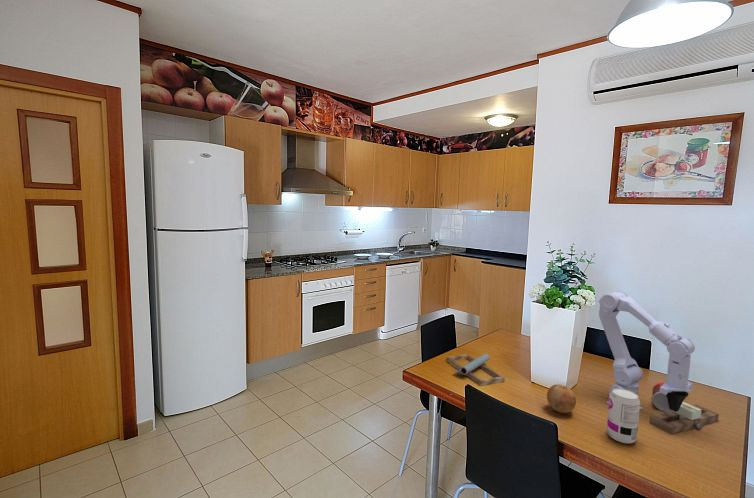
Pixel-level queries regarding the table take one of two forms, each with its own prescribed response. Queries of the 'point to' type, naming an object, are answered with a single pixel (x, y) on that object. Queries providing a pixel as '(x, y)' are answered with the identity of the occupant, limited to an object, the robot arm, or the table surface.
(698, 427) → the wooden slotted frame
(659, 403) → the canned food
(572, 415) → the table surface
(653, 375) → the table surface
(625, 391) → the supplement can
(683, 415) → the rider
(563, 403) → the onion
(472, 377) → the foil cradle
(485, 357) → the aluminum foil
